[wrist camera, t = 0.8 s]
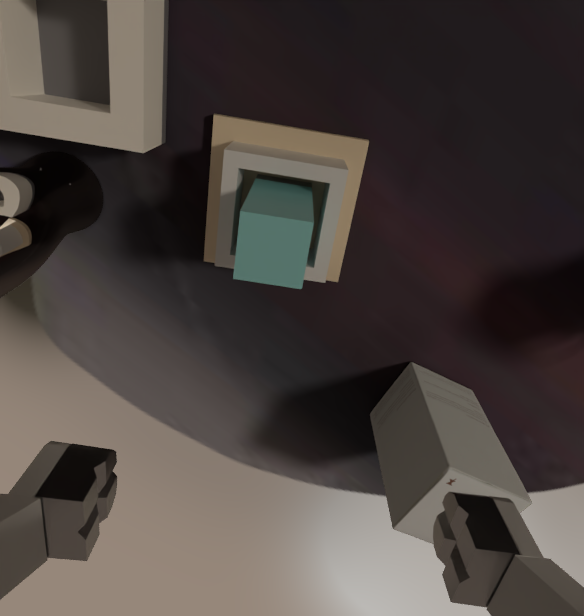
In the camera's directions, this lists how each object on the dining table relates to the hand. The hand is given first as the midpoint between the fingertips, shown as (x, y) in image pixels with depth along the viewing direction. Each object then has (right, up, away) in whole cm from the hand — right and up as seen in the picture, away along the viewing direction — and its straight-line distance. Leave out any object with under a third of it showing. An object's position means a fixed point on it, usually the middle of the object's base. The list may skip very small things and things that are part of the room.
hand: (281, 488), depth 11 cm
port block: (-13, +22, +19) cm, 32 cm away
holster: (-1, +13, +23) cm, 27 cm away
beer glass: (-17, +14, +24) cm, 32 cm away
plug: (-1, +12, +23) cm, 26 cm away
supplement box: (+13, -5, +32) cm, 35 cm away
